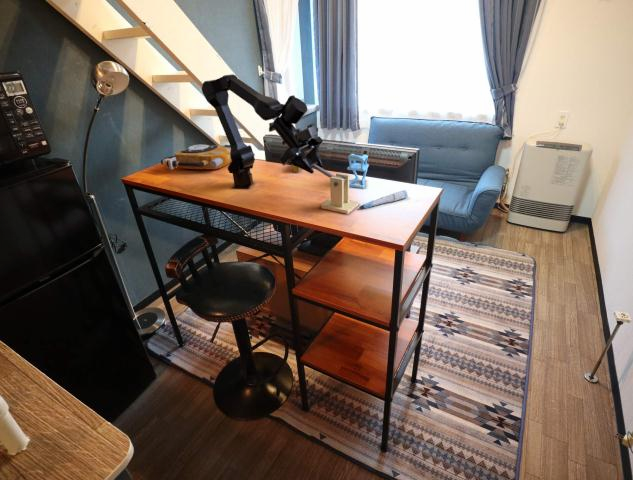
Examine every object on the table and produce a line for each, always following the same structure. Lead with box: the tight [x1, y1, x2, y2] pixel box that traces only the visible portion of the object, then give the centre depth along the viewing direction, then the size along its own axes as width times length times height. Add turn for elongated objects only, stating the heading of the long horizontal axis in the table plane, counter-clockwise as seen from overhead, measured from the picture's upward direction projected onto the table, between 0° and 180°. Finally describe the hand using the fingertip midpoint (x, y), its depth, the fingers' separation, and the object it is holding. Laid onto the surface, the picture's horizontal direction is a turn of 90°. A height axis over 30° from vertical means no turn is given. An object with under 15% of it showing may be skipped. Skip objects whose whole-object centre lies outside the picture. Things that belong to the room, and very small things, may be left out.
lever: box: [309, 161, 346, 183], centre depth 113 cm, size 13×6×2 cm, turn 59°
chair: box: [346, 153, 370, 189], centre depth 131 cm, size 8×8×12 cm
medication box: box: [291, 165, 302, 173], centre depth 152 cm, size 12×3×4 cm, turn 171°
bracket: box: [320, 172, 359, 215], centre depth 114 cm, size 10×8×11 cm
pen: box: [358, 189, 409, 209], centre depth 116 cm, size 19×3×3 cm, turn 118°
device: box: [160, 144, 232, 170], centre depth 158 cm, size 23×8×30 cm
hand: (317, 170), depth 114 cm, fingers open, 6 cm apart
